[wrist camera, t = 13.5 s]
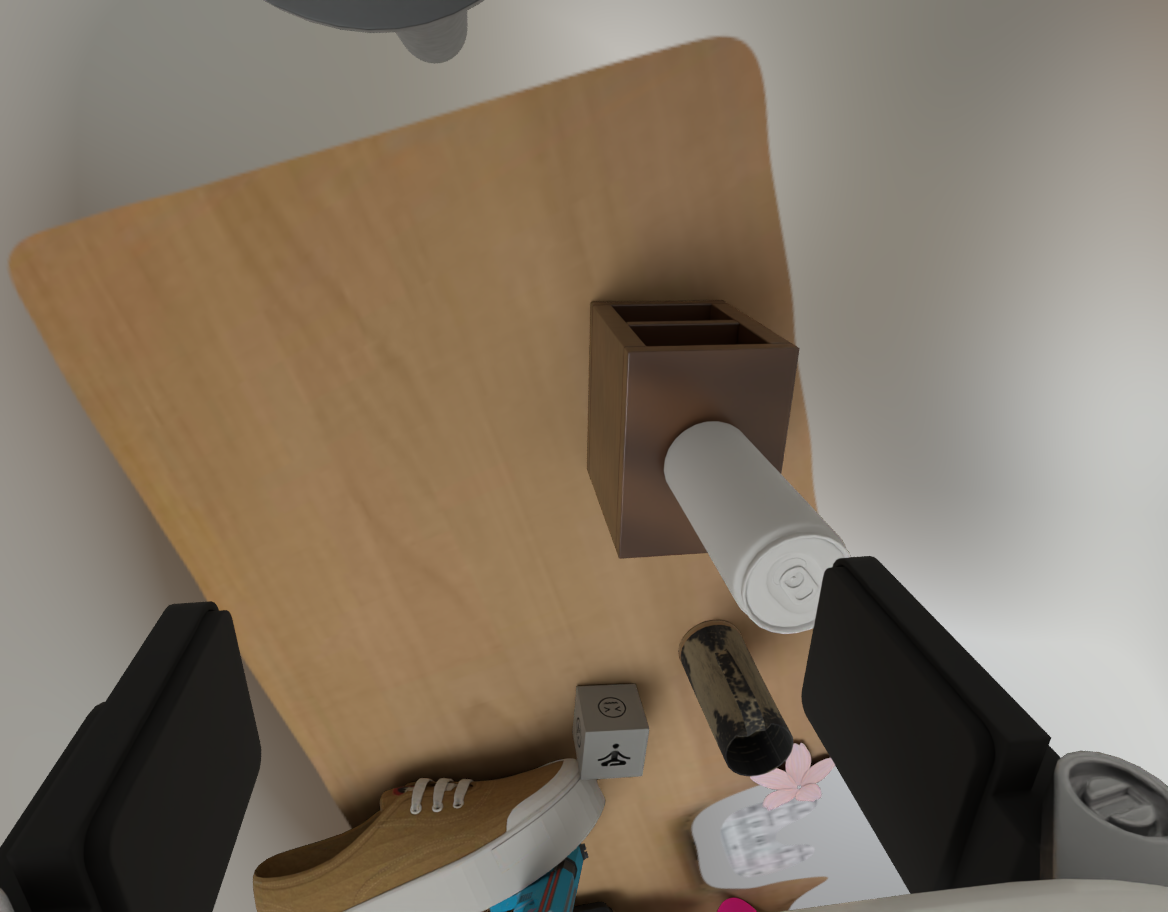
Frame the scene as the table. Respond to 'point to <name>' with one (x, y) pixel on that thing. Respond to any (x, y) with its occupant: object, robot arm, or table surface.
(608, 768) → the dice cube
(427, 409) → the table surface
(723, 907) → the figurine
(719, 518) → the beverage can
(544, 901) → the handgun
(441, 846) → the sneaker
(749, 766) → the mug
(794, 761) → the flower
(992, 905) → the robot arm
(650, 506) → the divided wooden organizer
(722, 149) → the table surface
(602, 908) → the decorative sign
